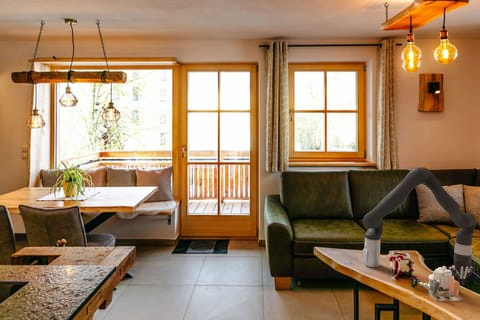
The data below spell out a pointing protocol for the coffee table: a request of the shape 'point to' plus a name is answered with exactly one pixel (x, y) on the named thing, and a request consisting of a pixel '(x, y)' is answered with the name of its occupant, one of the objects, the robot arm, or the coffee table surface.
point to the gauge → (442, 293)
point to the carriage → (454, 287)
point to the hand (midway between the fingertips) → (460, 285)
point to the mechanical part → (442, 277)
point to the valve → (420, 283)
